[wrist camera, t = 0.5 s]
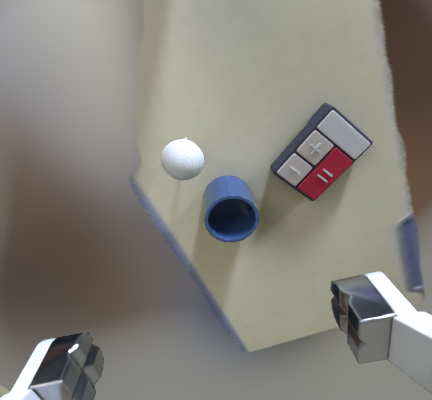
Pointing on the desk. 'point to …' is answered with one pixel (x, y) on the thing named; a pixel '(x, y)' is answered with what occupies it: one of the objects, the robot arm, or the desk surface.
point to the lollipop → (182, 159)
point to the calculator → (320, 152)
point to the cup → (229, 209)
